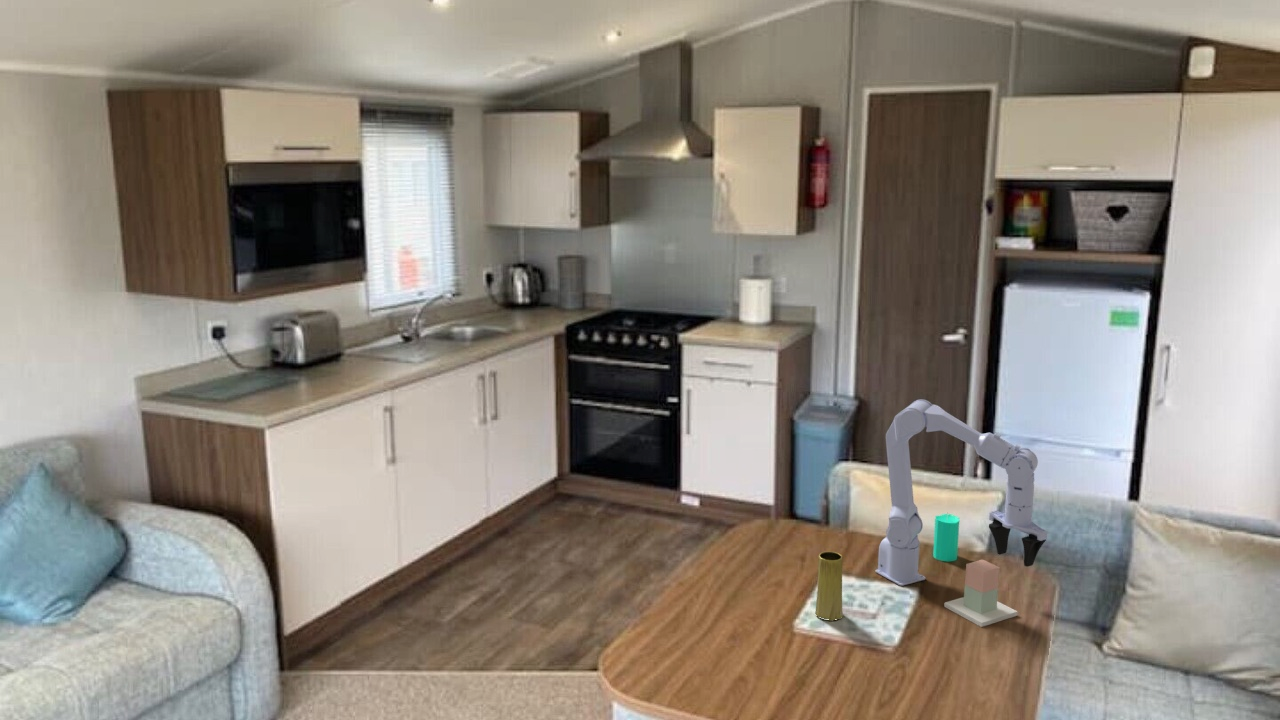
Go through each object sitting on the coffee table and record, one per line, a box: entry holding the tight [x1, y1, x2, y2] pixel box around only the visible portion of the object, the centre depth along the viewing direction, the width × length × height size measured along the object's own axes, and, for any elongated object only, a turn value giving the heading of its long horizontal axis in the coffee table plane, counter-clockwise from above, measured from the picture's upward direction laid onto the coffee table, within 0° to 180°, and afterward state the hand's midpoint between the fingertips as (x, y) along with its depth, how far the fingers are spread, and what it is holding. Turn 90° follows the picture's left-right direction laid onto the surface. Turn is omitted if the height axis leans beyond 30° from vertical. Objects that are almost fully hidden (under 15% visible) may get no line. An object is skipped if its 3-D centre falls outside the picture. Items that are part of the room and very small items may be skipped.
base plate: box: [943, 596, 1018, 628], centre depth 217 cm, size 11×11×1 cm
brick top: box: [964, 559, 1001, 593], centre depth 215 cm, size 5×5×5 cm
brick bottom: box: [963, 584, 999, 614], centre depth 216 cm, size 5×5×5 cm
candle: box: [932, 512, 960, 563], centre depth 245 cm, size 6×6×12 cm
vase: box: [814, 550, 844, 620], centre depth 215 cm, size 6×6×14 cm
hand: (1015, 559), depth 219 cm, fingers open, 7 cm apart
